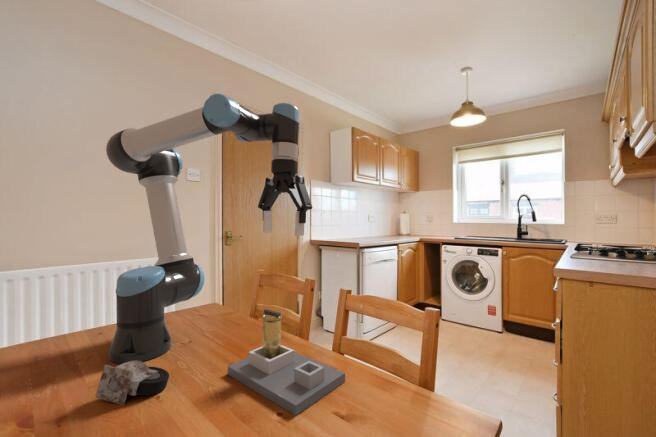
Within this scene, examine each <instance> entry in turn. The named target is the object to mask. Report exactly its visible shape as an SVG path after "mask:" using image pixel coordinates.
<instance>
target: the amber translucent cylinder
mask: <svg viewBox="0 0 656 437" xmlns="http://www.w3.org/2000/svg"><path fill="white" fill-rule="evenodd" d="M282 317H283V314H282V313H281V312H278V311H275V310H271V309H268V308H266V309H263V314H262V318H261V319H262V346H263V357H265V358H268V359H272V358H274V357H276V356H279V355H280V354H281V345H282V344H281V343H282V342H281V340H282V338H281V335H282V331H281V330H282V319H283V318H282Z"/></svg>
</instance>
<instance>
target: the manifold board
mask: <svg viewBox="0 0 656 437" xmlns="http://www.w3.org/2000/svg"><path fill="white" fill-rule="evenodd" d="M227 375H229V376H230V377H232V378H233V379H235V380H236V381H238V382H240V383H242V384H243V385H245V386H246V387H248V388H250V389H251V390H253V391H254V392H256V393H258V394H260V395H261V396H263V397H264V398H266V399H267V400H269V401H271V402H273V403H275V404H276V405H278V406H279V407H281V408H282V409H285V410H286V411H287V412H289V413H291V414H293V415H294V416H298V415H299V414H301V413H302V412H303V411H305V410H306V409H308V408H309V407H311V405H314V404H315V403H316V402H318V401H319V400H320V399H322V398H323V397H325V396H326V395H328V394H329V393H331V392H332V391H333V390H335V389H336V388H338V387H340V386H341V385H342V384H344V383H345V382H346V372H344V371H341V370H339V369H337V368H334V367H332V366H329V365H327V364H324V363H322V362H320V361H317V360H315V359H313V358H310V357H309V356H306V355H303V354H301V353H298V352H295V349H292V348H290V347H288V346H285V345H282V344H281V354H280V355H279V356H276V357H274V358H272V359H268V358H265V357H263V345H261V346H259V347H257V348H255V349H252V350H250V351H248V357H246V358H244V359H241V360H239V361H236V362H233V363H232V364H230V365H227Z"/></svg>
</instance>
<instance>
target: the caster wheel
mask: <svg viewBox="0 0 656 437" xmlns="http://www.w3.org/2000/svg"><path fill="white" fill-rule="evenodd" d="M101 373H102V374H101V376H100V378H99V382H98V386H97V389H96V392H95V398H97V399H100V400H104V401H107V402H110V403H114V404H116V405H120V406H125V403H126V400H127V397H128V396H127V395H129V396H139V395H141V396H143V395H144V396H145V395H147V396H149V395H155V394H158V393H161V392H163V391H164V390H165V389H166V388H167V385H168V381H169V378H170V373H169V372H168V370H166V369H164V368H161V367H158V366H157V367H156V366H147V364H146V362H145V363H144V361H137V360H136V361H129V362H126V363H123V364H122V363H120V364H119V365H117V366H112V365H109V364H104V366H103V368H102V372H101Z"/></svg>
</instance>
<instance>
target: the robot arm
mask: <svg viewBox="0 0 656 437" xmlns="http://www.w3.org/2000/svg"><path fill="white" fill-rule="evenodd" d="M299 112H300V110H299V109H298V107H297V106H295V105H294V104H291V103H287V102H279V103H277V104H274V105H273V107H272V111H271V113H265V114H264V113H261V114H260V113H259V114H258V113H255V112H254V111H252V110H251V109H249V108H247V107H246V106H244V105H242V104H241V103H239V102H237V101H236V100H234V99H233V98H231V97H229V96H227V95H224V94H222V93H214V94H211V95H210V96H209V97H208V98H207V99H206V100H205V101H204V104H203V106H202V107H199V108H196V109H193V110H191V111H188V112H185V113H182V114H180V115H176V116H173V117H170V118H167V119H165V120H161V121H158V122H154V123H153V124H149V125H147V126H144V127H140V128H138V129H137V128H135V127H128V128H126V129H123V130H120V131H118V132H116V133H114V134H113V135H112V136H110V138H109V140H107V143H106V148H105V152H106V156H107V159H108V160H109V162H110V163H111V164H112V165H113V166H114V167H115V168H117V169H118V170H120V171H122V172H125V173H129V174H132V175H133V174H135V175H137V179H138V183H139V185H141V186H143V187H144V188H145V193H146V198H147V203H148V204H147V205H148V210H149V215H150V219H151V225H152V232H153V236H154V242H155V248H156V252H157V258H158V259H157V261H156V262H155V263H154V265H149V266H144V267H136V268H133V269H129V270H126V271H124V272H123V273H121V274H120V275H118V277H117V279H116V288H115V296H116V329H115V332H114V335H113V338H112V341H111V344H110V346H109V349H108V358H109V361H110V362H112V363H116V364H123V363H126V362H129V361H136V360H137V361H142V362H145V361H149V360H153V359H155V358H158V357H159V356H161V355H164V354H165V353H167V352H168V351H169V350H170V349H171V347H172V338H171V335H170V332H169V328H168V327H167V324H166V321H165V308H168V307H170V306H173V305H176V304H178V303H181V302H185V301H188V300H191V299H192V298H194V297H196V296H197V295H198V294H200V293H201V291H202V290H203V287H204V285H205V273H204V271H203V269H202V267H200V265H199V264H197V263H195V261H194V260H195V259H194V257H193V256H192V255H191V254H189V253H188V250H187V245H186V241H185V240H186V239H185V234H184V229H183V225H182V224H183V223H182V219H181V214H180V208H179V202H178V198H177V193H176V188H175V184H176V183H177V182H178V181H179V176H180V174H181V173H182V169H183V159H182V156H181V154H180V152H178V150H177V149H176V148H178V147H181V146H182V147H183V146H185V145H188V144H191V143H194V142H198V141H200V140H203V139H206V138H210V137H214V136H216V135H217V136H218V135H221V134H223V133H227V132H229V133H230V132H231V133H233V135H234V137H236V139H237V141H239V142H247V143H253V142H264V141H271V159H272V160H271V163H270V164H271V167H270V168H271V169H270V171H271V174H273V177H265V182H264V187H263V190H262V193H261V196H260V198H259V201H258V204H257V208H258V209H260V210H262V222H263V223H262V233H263V234H265V233H267V234H268V233H272V232H273V231H272V229H273V228H272V227H273V226H272V225H273V209H272V207H273V206H274V204H275V202H276V201H277V199H278V197H279V195H281V194H282V193H284V194H285V193H286V194H288V195H289V196H290V198H291V200H292V202H293V204H294V205H295V207H296V209H297V210H296V211H295V219H294V220H295V225H294V226H295V227H294V228H295V230H294V236H296V237H299V236H300V237H301V236H305V224H306V221H307V212H308V211H309V210H312V209H313V205H312V204H313V203H312V201H311V199H310V195H309V193H308V192H309V191H308V190H307V187H306V184H305V183H306V182H305V176H303V175H298V170H299V165H298V164H299V163H298V159H299V132H300V131H299V130H300V113H299Z"/></svg>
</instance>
